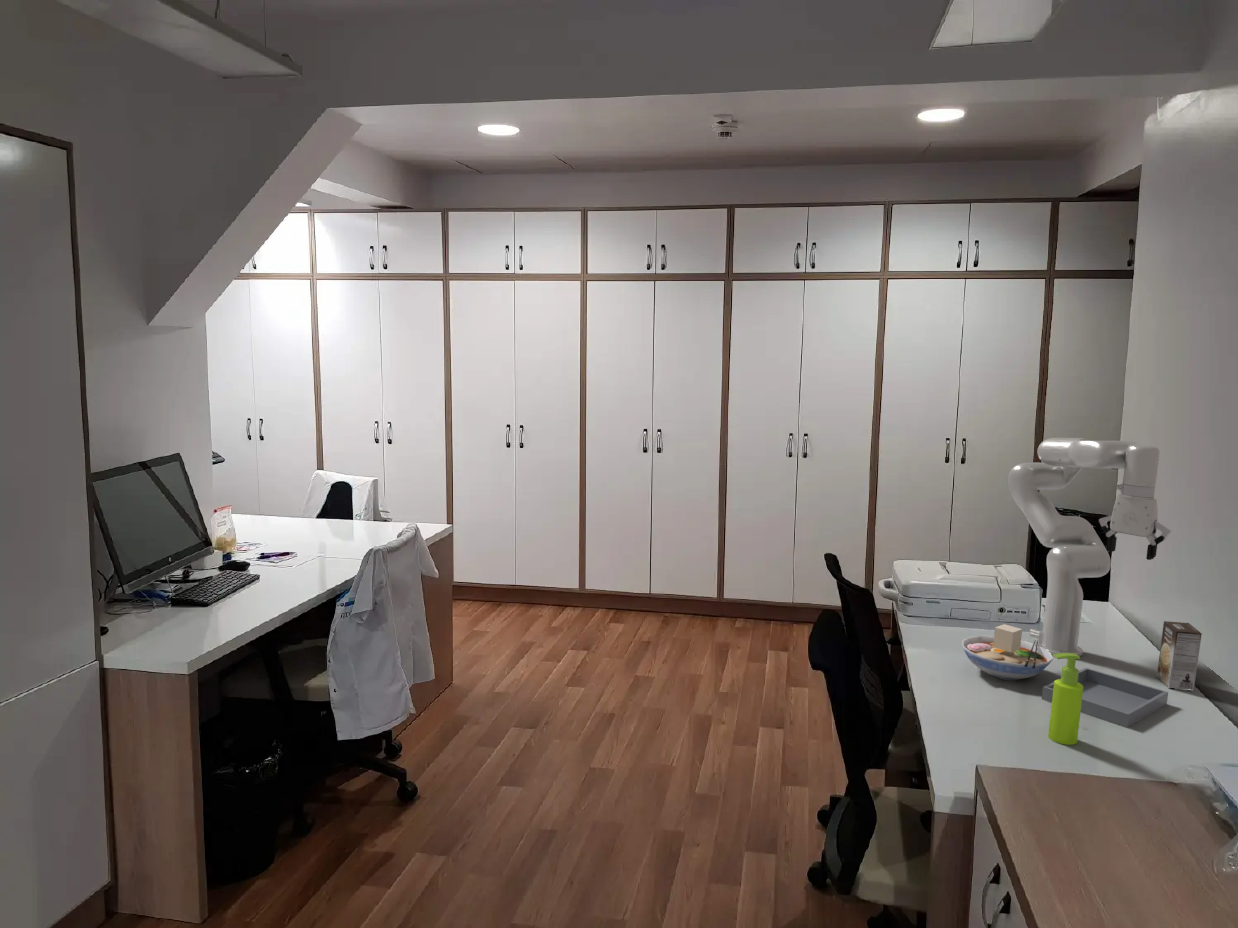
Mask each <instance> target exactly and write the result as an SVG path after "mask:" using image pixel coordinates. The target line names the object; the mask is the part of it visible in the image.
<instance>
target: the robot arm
mask: <svg viewBox="0 0 1238 928" xmlns="http://www.w3.org/2000/svg"><path fill="white" fill-rule="evenodd" d="M1036 451H1037V453H1036V454H1037V457H1038V459H1039V460H1040V461H1041V462H1031V461H1030V462H1023V463H1018V464H1016V465H1015V466H1013V467H1012V468H1011V470H1010V471H1009V473H1008V478H1007V479H1008V480H1007V481H1008V482H1007V484H1008V485H1007V486H1008V490H1009V493H1010V495H1011V497H1012V500H1013V501H1014V502H1015V504H1016V505H1017V506H1018V508H1019V510H1021V512H1022V513H1023V514H1024V516H1025V518H1026V519H1027V523H1028V524H1029V525H1030V527H1031V529H1032V530H1033V533H1034V534H1035V537H1036V538H1037V539H1038V541H1039V543H1040V544H1042V546H1044V547H1046V548H1050V550H1049V552H1048V553H1047V555H1046V569H1047V588H1046V599H1045V607H1044V616H1043V617H1044V618H1043V626H1042V630H1038V629H1035V628H1030V629H1029V637H1031V638H1036V639H1037V640H1038V644H1037V641H1035V645H1038V646H1040V647H1043V648H1044V649H1046V650H1047V651H1049V652H1050V653H1051V654H1052V656H1053V655H1054V654H1058V653H1073V654H1077V655H1078V656H1080V657H1081V656H1082V655H1084V650H1083V648H1081V647H1080V646H1079V645H1078V644H1079V638H1080V637H1079V636H1080V629H1081V628H1080V626H1081V621H1082V620H1081V619H1082V609H1083V602H1084V601H1083V599H1084V592H1083V591H1084V590H1083V588H1082V586H1081V584H1080V582H1079V579H1083V578H1084V579H1085V578H1089V579H1090V578H1101V577H1103V576H1105V575H1107V574H1108V573H1109V571H1110V570H1111V564H1112V561H1111V557H1110V554H1109V553H1112V552H1116V548H1117V539H1118V537H1117V536H1116V535H1117V534H1124V535H1128V536H1136V537H1142V538H1146V539H1147V541H1148V542H1149V544H1148V545H1147V549H1146V558H1145V559H1146V560H1148V561H1150V560H1154V558H1155V557H1156V556H1157V552H1158V551H1157V550H1158V545H1159V544H1160V543H1162V542H1164V541H1165V540H1166V539H1167V537H1169V535H1170V534H1171V531H1172V530H1171V529H1169V528H1168V527H1166V526H1165V525H1163V524H1162V523H1161V522H1159V521H1158V518H1159V517H1158V515H1159V513H1158V501H1157V498H1155V492H1156V484H1157V477H1158V476H1157V475H1158V468H1159V461H1160V449H1159V448H1158V447H1157V446H1155V445H1149V444H1142V443H1140V442H1139V443H1138V442H1136V441H1131V440H1089V439H1087V438H1085V437H1050V438H1047V439H1045V440H1042V441H1041V443H1040V444H1039V446H1038V448H1037V450H1036ZM1083 468H1086V469H1087V468H1088V469H1115V470H1116V469H1119V470H1120V469H1121V470H1123V475H1122V476H1123V477H1122V483H1121V484H1117V485H1116V490H1119V491H1120V494H1117V496H1116V497H1115V500H1114V501H1115V502H1114V504H1113V508H1112V513H1111V515H1108V516H1104V517H1101V518H1099V519H1098V523H1099V524H1100V527H1101V530H1102V532H1104V534H1105V537H1107V540H1106V547H1105V545H1104V543H1103V542H1102V540H1101V538H1100V536H1099V535H1098V533H1097V532H1096V530H1095V529H1094V527H1093V525H1092V524H1091V523H1090V522H1089V521H1088V520H1087V519H1085V518H1083V517H1082V516H1076V515H1063V514H1060V513H1059V512H1058V510H1057V509H1056V507H1055V505H1054V504H1053V502H1052V501H1051V500H1050V499H1049V498H1048V497H1047V496H1045V494H1043V493H1041V492H1039V491H1058V490H1063V489H1065V488H1066V487H1067V486H1068V485H1070V483H1071V482H1072V481H1073V480H1074V478H1076V476H1077V475H1078V474H1079V473H1080V472H1081V471H1082V470H1083ZM1108 522H1110V524H1109V525H1108ZM1157 530H1159V531H1160V532H1161V534H1160V535H1159V536H1158V537H1157V536H1156V533H1157Z"/></svg>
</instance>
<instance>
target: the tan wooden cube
mask: <svg viewBox="0 0 1238 928" xmlns="http://www.w3.org/2000/svg"><path fill="white" fill-rule="evenodd" d="M1022 633H1023V629H1022V628H1020V627H1016V626H1012V625H1008V624H1005V623H1004V624H1000V625H999V626H995V627H994V634H993V636H994V642H993V647H994V648H998V649H1001V650H1004V651H1008V652H1014V651H1016V650H1019V649H1020V646H1021V640H1022Z"/></svg>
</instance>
